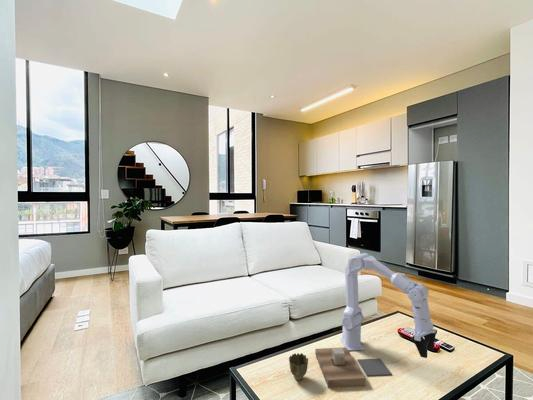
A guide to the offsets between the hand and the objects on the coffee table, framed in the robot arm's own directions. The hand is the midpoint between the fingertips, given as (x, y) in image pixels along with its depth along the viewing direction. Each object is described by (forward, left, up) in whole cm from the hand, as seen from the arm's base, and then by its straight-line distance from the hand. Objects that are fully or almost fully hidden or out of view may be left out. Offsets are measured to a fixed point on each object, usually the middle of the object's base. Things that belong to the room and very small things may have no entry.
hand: (427, 352), depth 108 cm
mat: (-8, -17, -11) cm, 22 cm away
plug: (-8, -32, -11) cm, 35 cm away
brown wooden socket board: (-8, -32, -11) cm, 35 cm away
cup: (-4, -49, -11) cm, 50 cm away
